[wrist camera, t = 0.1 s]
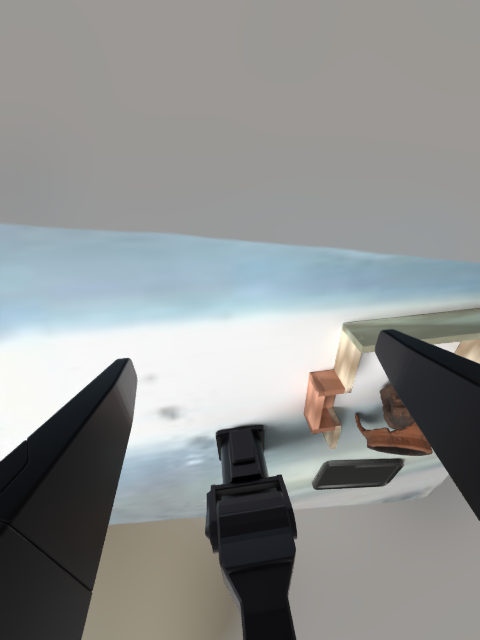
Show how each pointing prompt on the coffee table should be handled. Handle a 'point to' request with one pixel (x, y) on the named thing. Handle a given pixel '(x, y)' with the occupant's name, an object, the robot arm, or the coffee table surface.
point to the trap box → (359, 337)
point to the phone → (356, 473)
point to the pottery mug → (406, 434)
